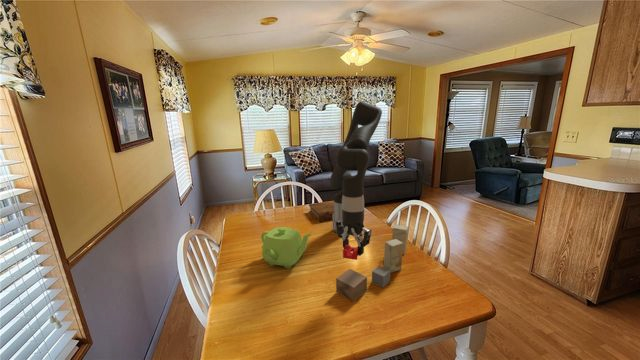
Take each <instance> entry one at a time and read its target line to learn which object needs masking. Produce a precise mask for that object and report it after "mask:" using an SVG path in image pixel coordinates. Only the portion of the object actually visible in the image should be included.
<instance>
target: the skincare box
mask: <svg viewBox="0 0 640 360" xmlns="http://www.w3.org/2000/svg"><path fill="white" fill-rule="evenodd" d="M402 251H403V243H402V242H401V241H399V240H397V239H394V240H392V239H391V240H388V241H385V242H384V253H383V254H384V256H383V268H386V269H388V270H390V274H391V273H394V272H397V271H400V270H402V263H403V254H402Z"/></svg>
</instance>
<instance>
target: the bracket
mask: <svg viewBox="0 0 640 360" xmlns="http://www.w3.org/2000/svg"><path fill="white" fill-rule="evenodd" d="M358 257H359V256H358V246H356V247H353V246H351V245H350V244H349V245H345V249H344V248H343V249H342V258H343V259H347V260H348V259H349V260H355V261H357V260H358Z"/></svg>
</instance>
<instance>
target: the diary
mask: <svg viewBox="0 0 640 360" xmlns="http://www.w3.org/2000/svg"><path fill="white" fill-rule="evenodd" d="M308 206H309V209H310V210H309V211H308V212H309V214H310V215H312V216H313V217H314V218H315V220H316V221H318V223H320V222H326V221H333V213H334V199H333V200H329V201H322V202H315V203H309V204H308Z"/></svg>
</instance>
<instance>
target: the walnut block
mask: <svg viewBox="0 0 640 360" xmlns="http://www.w3.org/2000/svg"><path fill="white" fill-rule="evenodd" d="M335 285H336V291H335V292H336V293H338V294H339V295H340V296H342V297H345V298H346V299H348V300H349V301H351V302H353V303H354V302H356V301H357V300H358V299H359V298H360V297H362V296H363V295H364V294H365V293H366V292H367V290H368V277H367V276H366V275H364V274H361V273H359V272H357V271H355V270H353V269H351V268H349V269H347V270H345V272H343V273H341V274H340V275H339V276H337V277H336V279H335Z"/></svg>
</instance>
